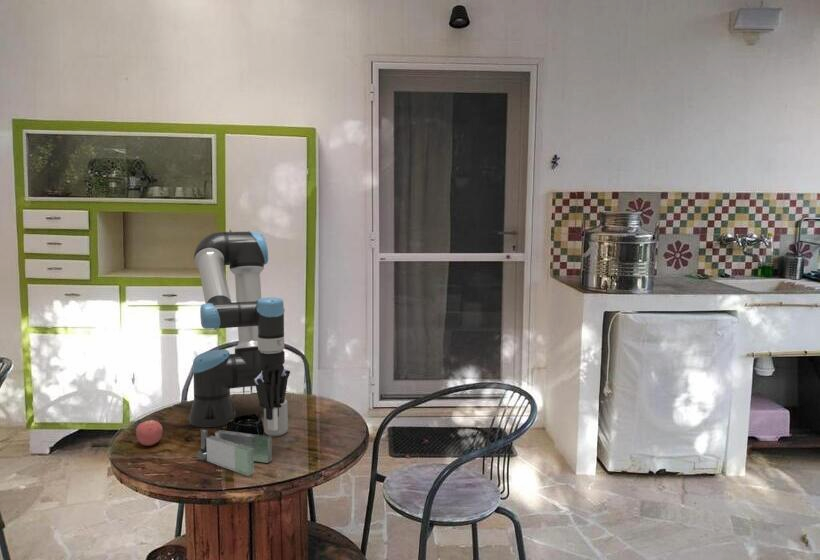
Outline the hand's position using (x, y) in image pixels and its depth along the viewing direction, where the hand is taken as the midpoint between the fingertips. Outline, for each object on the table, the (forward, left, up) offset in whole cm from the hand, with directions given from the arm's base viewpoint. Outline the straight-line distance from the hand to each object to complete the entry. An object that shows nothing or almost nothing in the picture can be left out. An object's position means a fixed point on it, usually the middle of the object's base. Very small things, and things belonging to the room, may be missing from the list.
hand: (272, 429), depth 182 cm
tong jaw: (-3, -9, -7) cm, 11 cm away
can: (-10, +11, -7) cm, 17 cm away
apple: (-34, -18, -7) cm, 39 cm away
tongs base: (-4, -15, -7) cm, 17 cm away
